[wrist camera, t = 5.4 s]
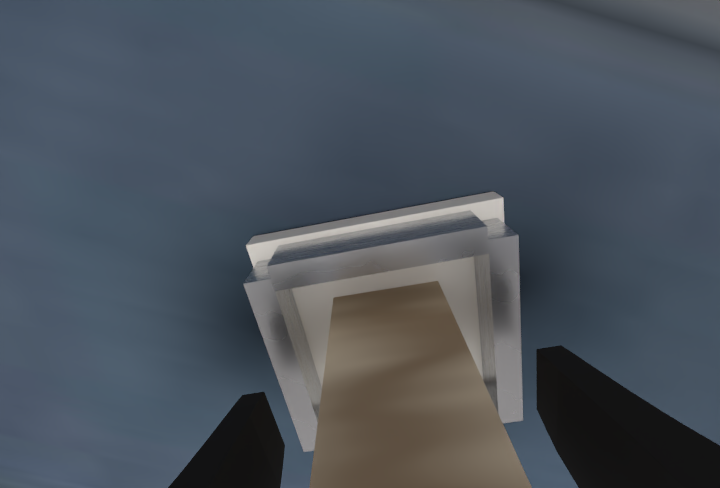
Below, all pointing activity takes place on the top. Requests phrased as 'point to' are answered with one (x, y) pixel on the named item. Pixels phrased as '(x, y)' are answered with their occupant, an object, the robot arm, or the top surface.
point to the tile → (449, 274)
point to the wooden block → (406, 400)
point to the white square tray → (382, 254)
